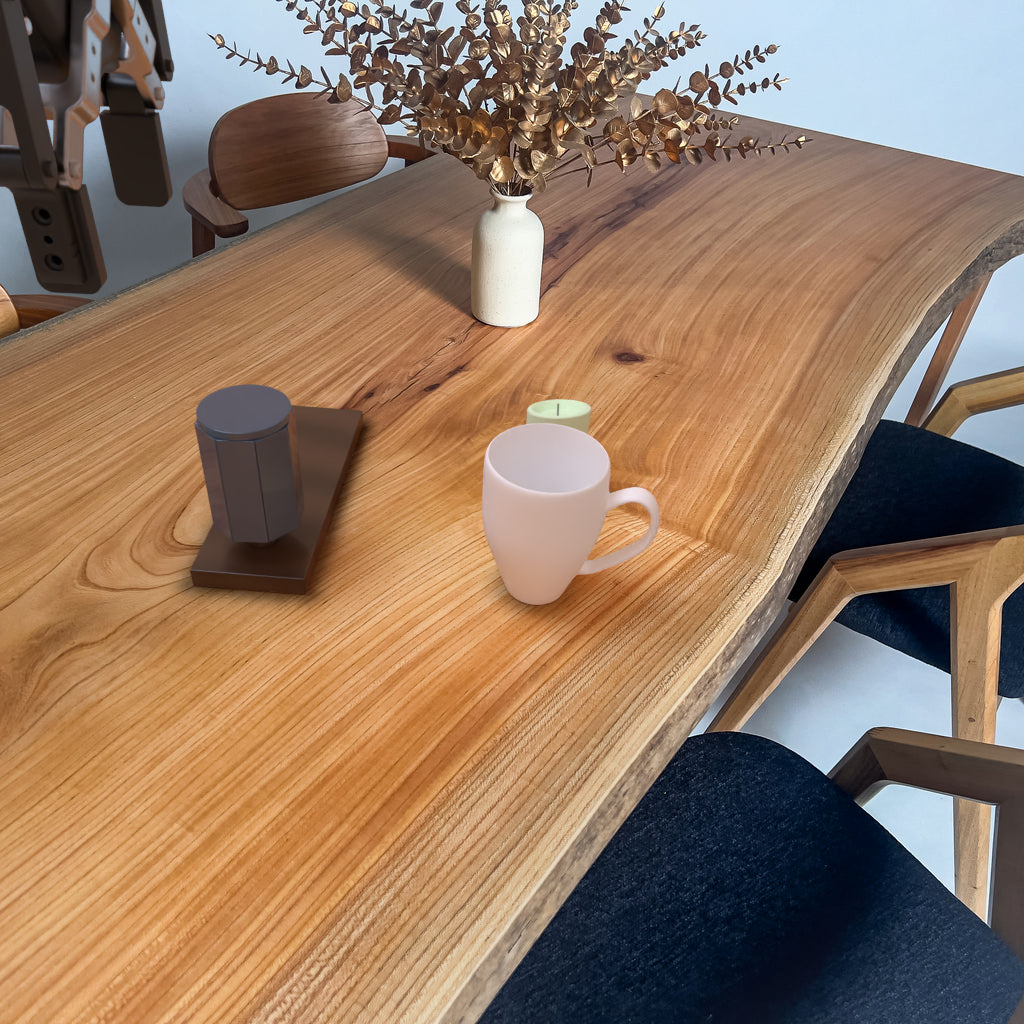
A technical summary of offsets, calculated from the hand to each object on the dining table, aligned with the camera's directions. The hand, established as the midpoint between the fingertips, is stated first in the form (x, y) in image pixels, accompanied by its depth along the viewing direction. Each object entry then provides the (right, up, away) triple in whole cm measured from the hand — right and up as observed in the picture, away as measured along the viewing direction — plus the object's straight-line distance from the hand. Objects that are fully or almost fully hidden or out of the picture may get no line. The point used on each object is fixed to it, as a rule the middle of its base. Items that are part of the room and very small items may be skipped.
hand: (114, 242), depth 36 cm
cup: (-2, -11, +29) cm, 31 cm away
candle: (+19, -9, +40) cm, 45 cm away
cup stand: (-2, -9, +36) cm, 38 cm away
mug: (+19, -17, +30) cm, 39 cm away
